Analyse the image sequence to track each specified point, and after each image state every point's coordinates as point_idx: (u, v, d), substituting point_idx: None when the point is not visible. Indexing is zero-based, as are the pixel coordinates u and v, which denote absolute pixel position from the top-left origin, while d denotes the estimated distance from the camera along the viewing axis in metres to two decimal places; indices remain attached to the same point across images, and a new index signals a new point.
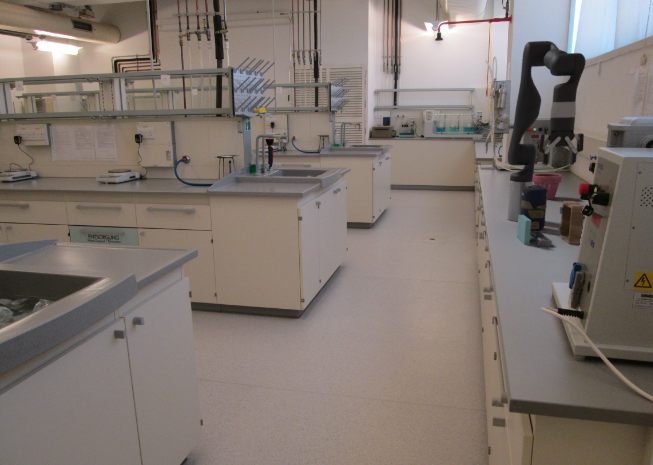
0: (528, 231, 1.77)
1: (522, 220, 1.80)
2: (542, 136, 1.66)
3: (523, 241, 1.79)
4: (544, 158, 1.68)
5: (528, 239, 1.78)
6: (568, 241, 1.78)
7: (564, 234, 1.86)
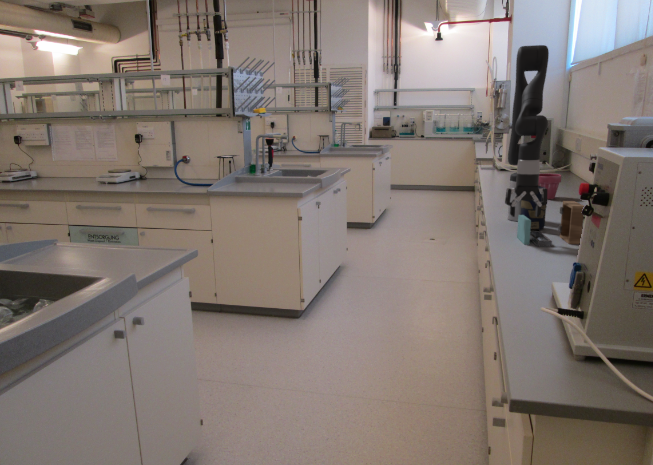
0: (528, 231, 1.77)
1: (522, 220, 1.80)
2: (509, 190, 1.78)
3: (523, 241, 1.79)
4: (511, 210, 1.80)
5: (528, 239, 1.78)
6: (568, 241, 1.78)
7: (564, 234, 1.86)
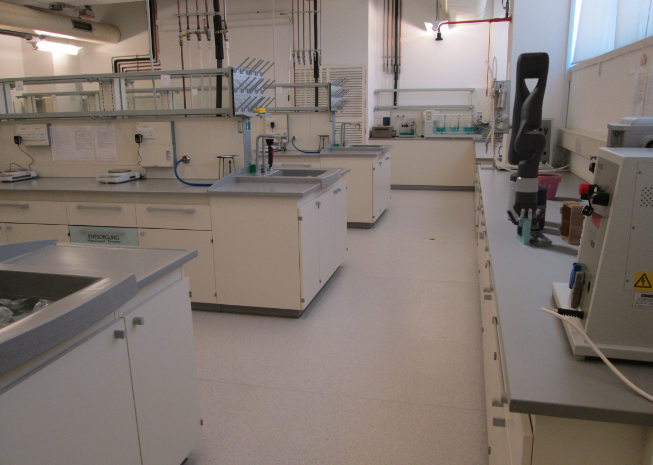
0: (528, 231, 1.77)
1: None
2: (509, 213, 1.80)
3: (523, 241, 1.79)
4: (518, 230, 1.82)
5: (528, 239, 1.78)
6: (568, 241, 1.78)
7: (564, 234, 1.86)
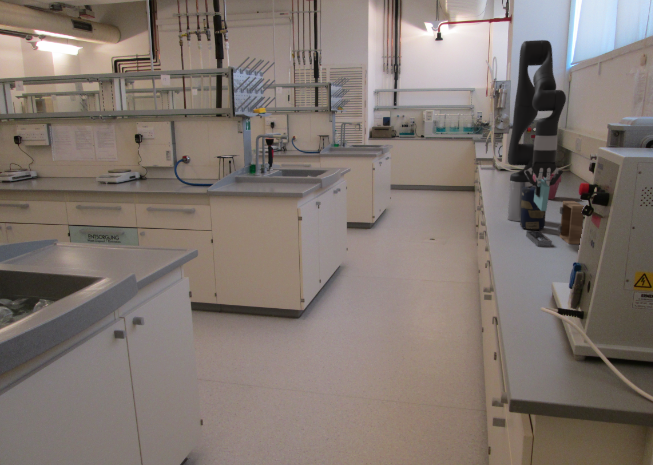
0: (546, 198, 1.74)
1: (540, 185, 1.76)
2: (527, 172, 1.76)
3: (540, 207, 1.77)
4: (537, 190, 1.78)
5: (545, 205, 1.75)
6: (568, 241, 1.78)
7: (564, 234, 1.86)
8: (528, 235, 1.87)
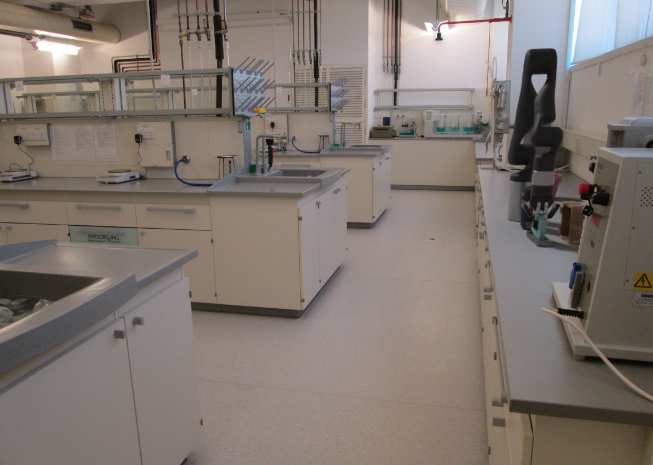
0: (544, 231, 1.77)
1: (538, 218, 1.79)
2: (525, 206, 1.79)
3: None
4: (534, 224, 1.81)
5: (543, 238, 1.79)
6: (568, 241, 1.78)
7: (564, 234, 1.86)
8: (528, 235, 1.87)
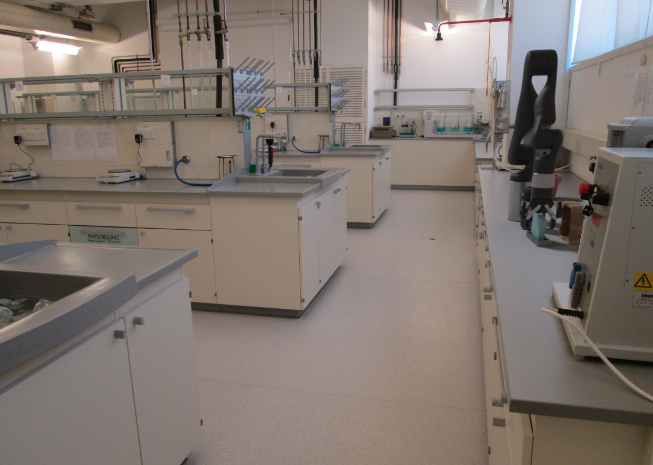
0: (543, 231, 1.77)
1: (538, 218, 1.80)
2: (524, 203, 1.79)
3: None
4: (526, 223, 1.81)
5: (542, 238, 1.79)
6: (568, 241, 1.78)
7: (564, 234, 1.86)
8: (528, 235, 1.87)
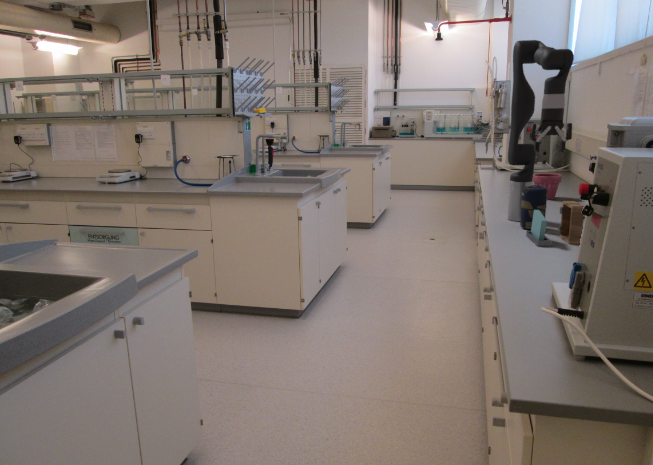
0: (543, 231, 1.77)
1: (538, 218, 1.80)
2: (534, 125, 1.81)
3: None
4: (536, 146, 1.83)
5: (542, 238, 1.79)
6: (568, 241, 1.78)
7: (564, 234, 1.86)
8: (528, 235, 1.87)
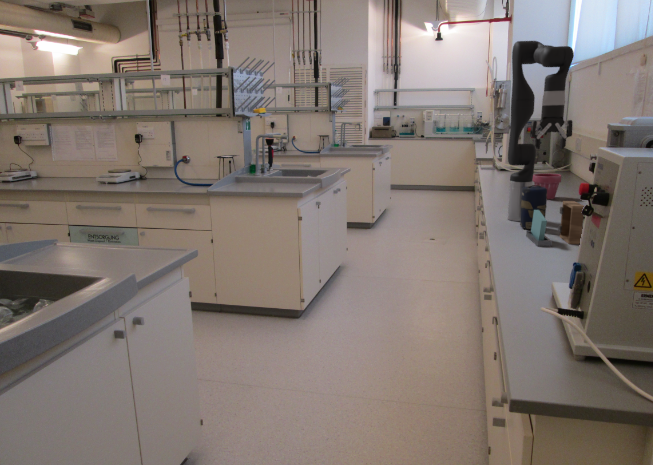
0: (543, 231, 1.77)
1: (538, 218, 1.80)
2: (534, 122, 1.81)
3: None
4: (536, 143, 1.83)
5: (542, 238, 1.79)
6: (568, 241, 1.78)
7: (564, 234, 1.86)
8: (528, 235, 1.87)
